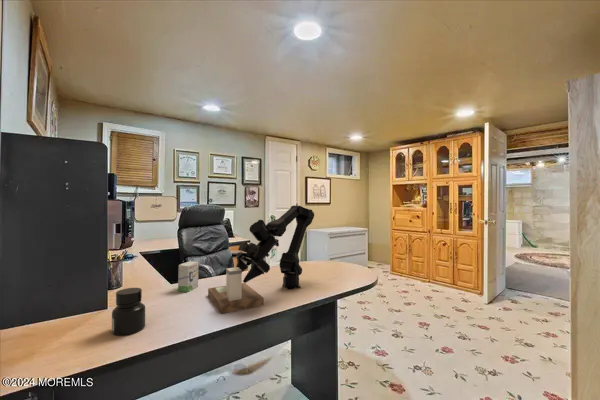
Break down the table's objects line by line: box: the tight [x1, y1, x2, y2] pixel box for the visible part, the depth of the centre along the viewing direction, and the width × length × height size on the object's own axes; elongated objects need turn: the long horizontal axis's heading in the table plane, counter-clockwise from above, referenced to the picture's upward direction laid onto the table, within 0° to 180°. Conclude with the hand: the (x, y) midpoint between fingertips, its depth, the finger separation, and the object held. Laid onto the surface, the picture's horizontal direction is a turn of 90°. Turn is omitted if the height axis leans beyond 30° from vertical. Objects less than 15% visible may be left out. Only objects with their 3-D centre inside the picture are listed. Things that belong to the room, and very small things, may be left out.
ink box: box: [177, 261, 199, 293], centre depth 127 cm, size 9×5×12 cm, turn 168°
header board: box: [207, 282, 264, 315], centre depth 113 cm, size 16×22×3 cm
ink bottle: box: [111, 287, 146, 336], centre depth 88 cm, size 10×9×12 cm
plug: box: [225, 267, 243, 301], centre depth 107 cm, size 5×5×14 cm
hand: (238, 279), depth 108 cm, fingers open, 9 cm apart
